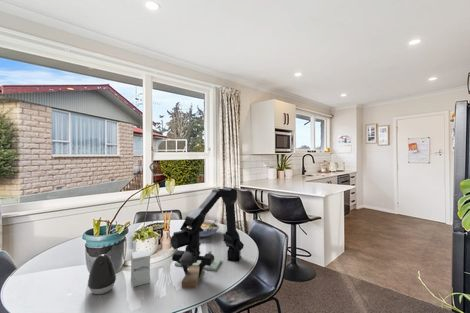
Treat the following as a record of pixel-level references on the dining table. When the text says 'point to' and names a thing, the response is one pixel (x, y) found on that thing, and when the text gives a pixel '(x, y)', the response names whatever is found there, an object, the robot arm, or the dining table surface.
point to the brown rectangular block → (191, 277)
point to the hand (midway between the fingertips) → (193, 275)
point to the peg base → (211, 267)
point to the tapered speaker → (102, 275)
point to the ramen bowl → (208, 228)
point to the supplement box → (140, 268)
